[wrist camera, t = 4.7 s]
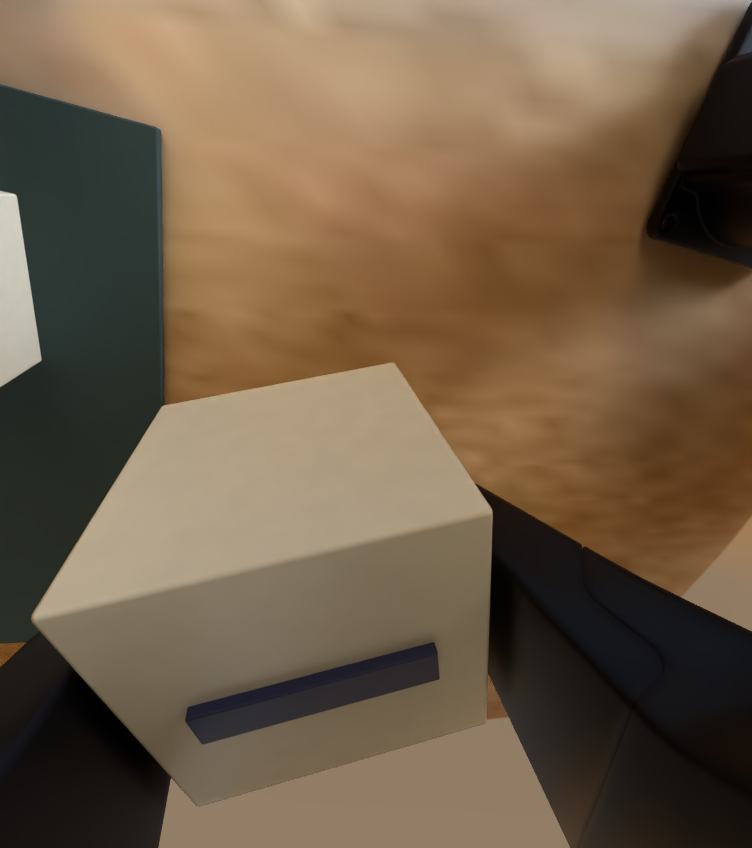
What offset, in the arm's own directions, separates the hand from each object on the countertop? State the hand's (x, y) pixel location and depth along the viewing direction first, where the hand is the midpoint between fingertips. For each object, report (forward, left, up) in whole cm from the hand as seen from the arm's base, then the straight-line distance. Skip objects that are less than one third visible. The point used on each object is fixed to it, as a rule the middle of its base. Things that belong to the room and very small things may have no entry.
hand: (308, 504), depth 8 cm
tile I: (0, 0, -1) cm, 1 cm away
